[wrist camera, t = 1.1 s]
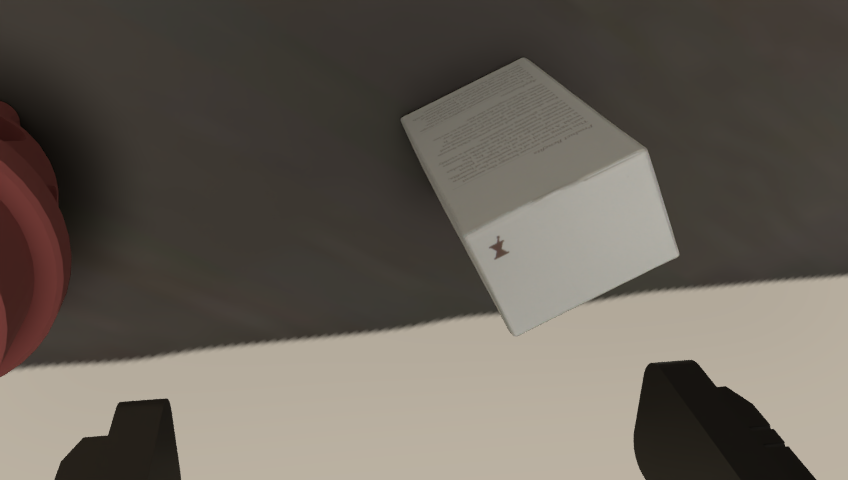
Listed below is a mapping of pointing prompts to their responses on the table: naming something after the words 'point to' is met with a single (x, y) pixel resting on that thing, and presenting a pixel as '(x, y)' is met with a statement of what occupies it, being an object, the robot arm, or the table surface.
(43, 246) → the mechanical component
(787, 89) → the table surface
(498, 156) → the skincare box
